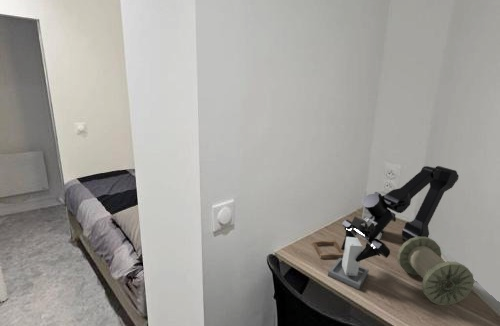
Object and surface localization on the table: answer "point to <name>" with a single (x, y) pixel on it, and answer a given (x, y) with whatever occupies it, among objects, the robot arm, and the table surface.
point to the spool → (435, 271)
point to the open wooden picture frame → (331, 255)
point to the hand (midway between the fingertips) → (348, 255)
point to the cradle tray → (352, 281)
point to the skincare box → (351, 256)
